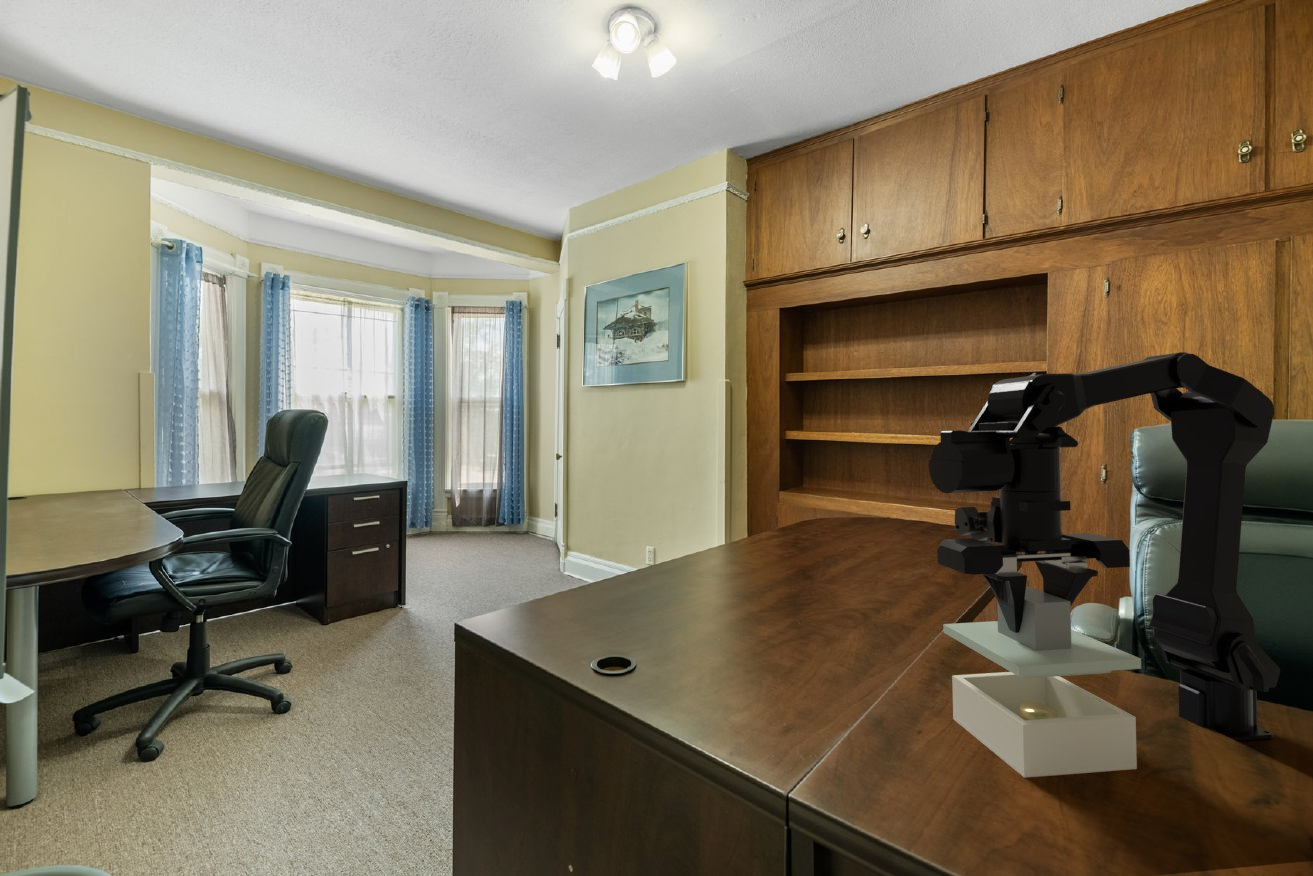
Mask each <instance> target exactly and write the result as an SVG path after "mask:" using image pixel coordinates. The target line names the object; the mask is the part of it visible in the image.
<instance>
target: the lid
mask: <svg viewBox="0 0 1313 876" xmlns="http://www.w3.org/2000/svg"><path fill="white" fill-rule="evenodd" d="M996 603H997V604H996V606H997V607H996V609H997V610H996V611H997V620H996V621H994V620H992V621H978V622H977V621H976V622H959V623H958V622H957V623H944V624H943V625H942V626H943V633H944V634H945V635H947V636H948V637H950V638H952V639H954V640H955V641H957V642H959V643H960V644H963V645H964V646H966V647H968V648H969V649H971V650H973V651H975V652H976V653H978V654H979V655H981V656H983V657H985V658H986V659H988V660H990V661H992V662H993V663H995V664H996V665H999V666H1000V667H1002V668H1003V669H1005V670H1007V672H1012V673H1014V674H1015V675H1017V676H1019V677H1021V678H1023V679H1024V678H1039V677H1054V676H1060V677H1069V676H1081V675H1082V676H1083V675H1097V674H1098V675H1099V674H1111V673H1112V672H1113V671H1125V670H1128V671H1129V670H1141V669H1142V658H1140V657H1138V656H1135V655H1133V654H1131V653H1128V652H1127V651H1123V650H1122V649H1120V648H1119V649H1118V648H1116V647H1115V646H1111V645H1109V644H1106V643H1104V642H1102V641H1100V640H1097V639H1095V638H1092V637H1090V636H1088V635H1085V634H1083V633H1080V632H1078V631H1075V630H1073V629H1072V617H1071V616H1072V614H1071V607H1070V601H1068V600H1065V599H1062V598H1059V597H1056V596H1054V595H1051V594H1048V593H1045V592H1043V591H1041V590H1040V589H1036V588H1034V587H1031V586H1026V591H1025V600H1024V608H1023V617H1022V623H1021V627H1020V631H1019V633H1014V632H1012V631H1010V630H1009V628H1008V625H1007V623H1006V620H1005V618H1004V616H1003V613H1002V611H1001V608H1000V606H999V603H998V601H997V600H996Z"/></svg>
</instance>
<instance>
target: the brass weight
mask: <svg viewBox="0 0 1313 876" xmlns="http://www.w3.org/2000/svg"><path fill="white" fill-rule="evenodd" d="M1020 717H1021V718H1022V719H1023V720H1039V719H1054V718H1058V712H1057V711H1056V710H1055V709H1053V708H1052V707H1049V706H1047V705H1044V704H1040V703H1034V702H1026V703H1022V704H1020Z"/></svg>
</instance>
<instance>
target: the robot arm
mask: <svg viewBox="0 0 1313 876" xmlns="http://www.w3.org/2000/svg"><path fill="white" fill-rule="evenodd" d="M1182 388H1183V389H1184V388H1185V389H1186V390H1187V391H1185V392H1182V391H1180V390H1179V389H1182ZM1149 394H1150V396H1151V401H1152V405H1153V408H1154V410H1155V411H1157V412H1158V413H1159V414H1161V416H1163V417H1165V418H1166V419H1167V420H1168V421H1169V422H1170V425H1171V427H1170V428H1171V439H1172V441H1173V443H1174V445H1175V446H1176V447H1177V449H1178V450H1179V452H1180V453H1181V455H1182V456H1183V458H1184V460H1185V462H1186V474H1185V484H1184V485H1185V486H1184V498H1183V508H1182V509H1183V511H1182V526H1181V535H1180V536H1181V538H1180V551H1179V562H1178V563H1179V564H1178V575H1177V576H1178V577H1177V582H1176V583H1175V584H1174V585H1173V586H1172V587H1171V588H1170V590H1168V591H1167V592H1166V593H1165V595H1164V594H1160V593H1156V594H1154V596H1153V598H1152V616H1151V620H1150V622H1149V627H1151V628H1153V636H1154V639H1155V642H1157V643H1158V645H1159V648H1160V651H1161V654H1162V656H1163V660H1164V662H1165V663H1167V664H1173V665H1174V666H1178V667H1180V668H1182V669H1179V672H1180V673H1179V674H1180V675H1179V676H1180V679H1179V680H1180V683H1178V685H1177V686H1178V687H1177V689H1178V690H1177V691H1178V709H1173V711H1174V712H1176V713H1178V717H1179V718H1182V719H1185V720H1186V721H1188V722H1190V723H1192V724H1193V725H1194V724H1195V725H1196V726H1198V727H1201V728H1210V729H1211V730H1213V731H1216V732H1217V733H1219V734H1222V735H1223V736H1226V737H1227V738H1229V739H1232V740H1234V741H1235V742H1238V741H1249V740H1250V741H1251V740H1262V739H1264V740H1265V739H1273V737H1274V733H1273V732H1271V731H1269V730H1266V728H1265V729H1264V728H1263V727H1261V726H1258V697H1257V696H1258V695H1257V692H1262V693H1269V691H1270V690H1269V689H1272V688H1276V687H1277V685H1278V681H1279V677H1280V673H1281V668H1280V667H1279V666H1278V664H1276V663H1275V661H1274V660H1273V659H1272V658H1271V657H1270V656H1269V655H1268V654H1267V653H1266V652H1265V651H1264V650H1263V649H1262V648H1261V647H1260V646H1259V644H1257V642H1256V633H1255V621H1254V618H1253V616H1252V615H1251V613H1250V611H1249V610H1248V608H1247V607H1246V605H1245V604H1244V603H1245V602H1243V600H1242V599H1241V597H1240V594H1238V591H1237V588H1238V587H1237V585H1238V584H1237V583H1238V573H1239V562H1240V561H1239V560H1240V559H1239V557H1240V547H1241V534H1242V533H1241V531H1242V519H1243V506H1244V496H1245V495H1244V493H1245V481H1246V469H1247V466H1248V464H1249V463H1250V462H1251V461H1252V460H1253V459H1254V458H1255V457H1256V456H1257V454H1259V452H1260V451H1261V450H1262V449H1263V448H1264V447H1265V446H1266V445H1267V444H1268V441H1269V437H1270V432H1271V428H1272V423H1273V420H1274V416H1275V406H1274V403H1273V401H1272V400H1271V399H1270V398H1269V397H1268V396H1267V395H1266V394H1264V392H1263V391H1261V390H1260V389H1259V388H1257V387H1256V386H1254V384H1252V383H1251V382H1249V380H1248V379H1246V378H1243V376H1239V375H1237V374H1234V373H1232V372H1229V371H1227V370H1223V369H1222V368H1217V367H1216V366H1213V365H1209V364H1208V363H1207V362H1205V361H1204V359H1202V357H1201V358H1200V357H1199V355H1196V354H1194V353H1189V352H1186V351H1184V352H1183V351H1182V352H1181V351H1180V352H1173V353H1165V354H1158V355H1157V354H1156V355H1151V356H1148V357H1145V358H1144V359H1142V360H1138V361H1133V362H1129V363H1125V364H1123V363H1122V364H1118V365H1115V366H1110V367H1105V368H1100V369H1095V370H1090V371H1086V372H1081V373H1067V372H1066V373H1044V374H1043V373H1042V374H1034V375H1027V376H1019V377H1011V378H1005V379H1001V380H999V381H996V382H995V383H994V384H992V387H991V390H990V392H989V393H988V398H987V401H986V403H985V405H983V407H982V409H981V410H980V412H979V414H978V415H977V416H976V418H975V420H974V422H973V423H972V424H971V426H970V427H969V429H968V431H966V430H962V429H961V430H958V429H957V430H941V431H940V433H939V434H940V442H938V443H937V444H936V445H935V447H934V448H933V450H932V453H931V456H930V459H929V460H928V472H929V476H930V480H931V481H932V483H933V485H934V487H935V488H936V489H937V490H939V491H940V492H942V494H961V493H962V494H964V493H965V494H966V493H984V492H985V493H987V492H997V491H999V496H992V497H991V499H992V500H991V501H990V510H987V511H978V509H977V508H976V506H960V507H958V508H956V509H954V527H955V531H956V533H957V535H959V536H969V537H970V538H968V537H967V538H953V539H952V538H948V539H942V541H941V543H940V544H939V545H938V547H937V564H938V565H941V566H944V567H947V568H948V569H951V570H954V571H956V572H959V573H962V574H964V575H970V576H971V575H974V576H975V575H977V576H978V575H981V576H982V577H983V578H984V579H985V581H987V583H988V584H989V587H990V589H991V590H992V592H993V594H994V596H995V598H996V602H997V601H998V603H999V606H1000V608H1001V611H1002V613H1003V616H1004V618H1005V620H1006V623H1007V625H1008V628H1009V630H1010V631H1012V632H1014V633H1019V631H1020V627H1021V623H1022V617H1023V608H1024V600H1025V591H1026V587H1027V583H1028V575H1027V574H1023V573H1021V572H1018V563H1023V562H1024V563H1025V562H1034V564H1035V565H1036V567H1037V569H1038V571H1039V573H1040V575H1041V577H1042V584H1043V585H1042V586H1043V587H1042V588H1043V591H1042V592H1045V593H1048V594H1051V595H1054V596H1056V597H1059V598H1062V599H1065V600H1068V601H1070V608H1071V607H1072V605H1073V603H1074V602H1075V601H1076V599H1077V598H1078V596H1079V595H1080V593H1081V592H1082V590H1083V589H1084V588H1085V587H1086V585H1087V584H1088V582H1089V581H1090V580H1091V579H1092V577H1093V578H1094V577H1098V576H1099V571H1098V570H1095V569H1092V568H1089V563H1088V560H1087V559H1089V560H1090V559H1095V560H1096V562H1097V563H1098V564H1099V565H1100V566H1101V567H1103V568H1104V569H1105V568H1106V569H1110V568H1111V569H1116V568H1117V569H1120V568H1130V567H1131V558H1130V557H1131V555H1130V552H1131V551H1130V549H1129V548H1128V546H1127V545H1126V544H1125V542H1124V541H1123V540H1122V539H1120V538H1114V537H1111V536H1110V537H1109V536H1104V535H1100V534H1094V533H1089V532H1085V533H1084V532H1083V533H1066V534H1065V533H1064V534H1063V531H1062V530H1063V529H1062V528H1063V527H1062V525H1063V524H1062V523H1063V522H1062V511H1064V512H1065V511H1071V500H1066V499H1065V500H1064V499H1062V491H1061V490H1062V487H1061V486H1062V485H1061V484H1062V483H1061V481H1062V480H1061V452H1060V451H1061V450H1060V449H1062V448H1065V449H1066V448H1076V447H1078V446H1079V442H1078V440H1076V439H1075V438H1074V437H1073V436H1072V435H1070V434H1068V433H1067V432H1066V431H1065V430H1064V429H1063V427H1062V426H1060V425H1062V424H1065V423H1067V422H1069V421H1071V420H1074V419H1076V418H1078V417H1080V416H1081V415H1082V414H1083V413H1084V412H1086V410H1088V409H1090V408H1093V407H1095V406H1099V405H1103V404H1104V405H1105V404H1109V403H1112V402H1117V401H1121V400H1122V401H1123V400H1126V399H1130V398H1136V397H1140V396H1144V395H1149ZM993 543H994V544H993ZM996 544H999V545H996Z"/></svg>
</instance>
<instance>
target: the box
mask: <svg viewBox="0 0 1313 876" xmlns="http://www.w3.org/2000/svg"><path fill="white" fill-rule="evenodd" d="M951 680H952V684H951V685H952V718H953V721H955V722H956V723H957V724H958V725H959V726H960V727H962V728H964V730H965V731H967V732H968V733H969V734H970V735H972V736H973V737H974V738H975V739H977V741H979V742H980V743H981V744H983V745H984V746H985V747H986V748H988V749H989V750H990V751H991V752H992V753H993V754H994V755H996V756H997V757H998V758H1000V760H1002V761H1003V762H1004V763H1005V764H1007V765H1008V766H1009V767H1011V768H1012V769H1013V770H1014V771H1015V772H1016V773H1018V774H1019V775H1020V776H1022V777H1023V778H1025V779H1026V778H1037V777H1038V778H1039V777H1050V776H1051V777H1052V776H1053V777H1054V776H1063V775H1075V774H1077V775H1078V774H1088V773H1101V772H1103V773H1104V772H1116V771H1129V770H1137V769H1138V767H1137V766H1138V761H1137V760H1138V759H1137V757H1138V756H1137V724H1136V723H1137V722H1136V721H1137V718H1136V716H1135V715H1133V714H1131V713H1129V712H1127V711H1125V710H1124V709H1122V708H1120V707H1118V706H1116V705H1114V704H1112V703H1110V702H1109V701H1107V700H1105V699H1102V698H1101V697H1100V696H1097V695H1096V694H1093V693H1092V692H1090V691H1087V690H1086V689H1084V688H1082V687H1080V686H1079V685H1077V684H1075V683H1073V682H1070V681H1069V680H1067V679H1065V678H1064V677H1063V676H1054V677H1039V678H1024V679H1023V678H1021V677H1019V676H1017V675H1015V674H1014V673H1012V672H1010V671H1004V672H1003V671H1001V672H989V673H988V672H987V673H970V674H957V675H955V674H954V675H952V676H951ZM1026 702H1034V703H1040V704H1044V705H1047V706H1049V707H1052V708H1053V709H1055V710H1056V711H1057V712H1058V718H1054V719H1039V720H1023V719H1022V718H1021V717H1020V704H1022V703H1026Z"/></svg>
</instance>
